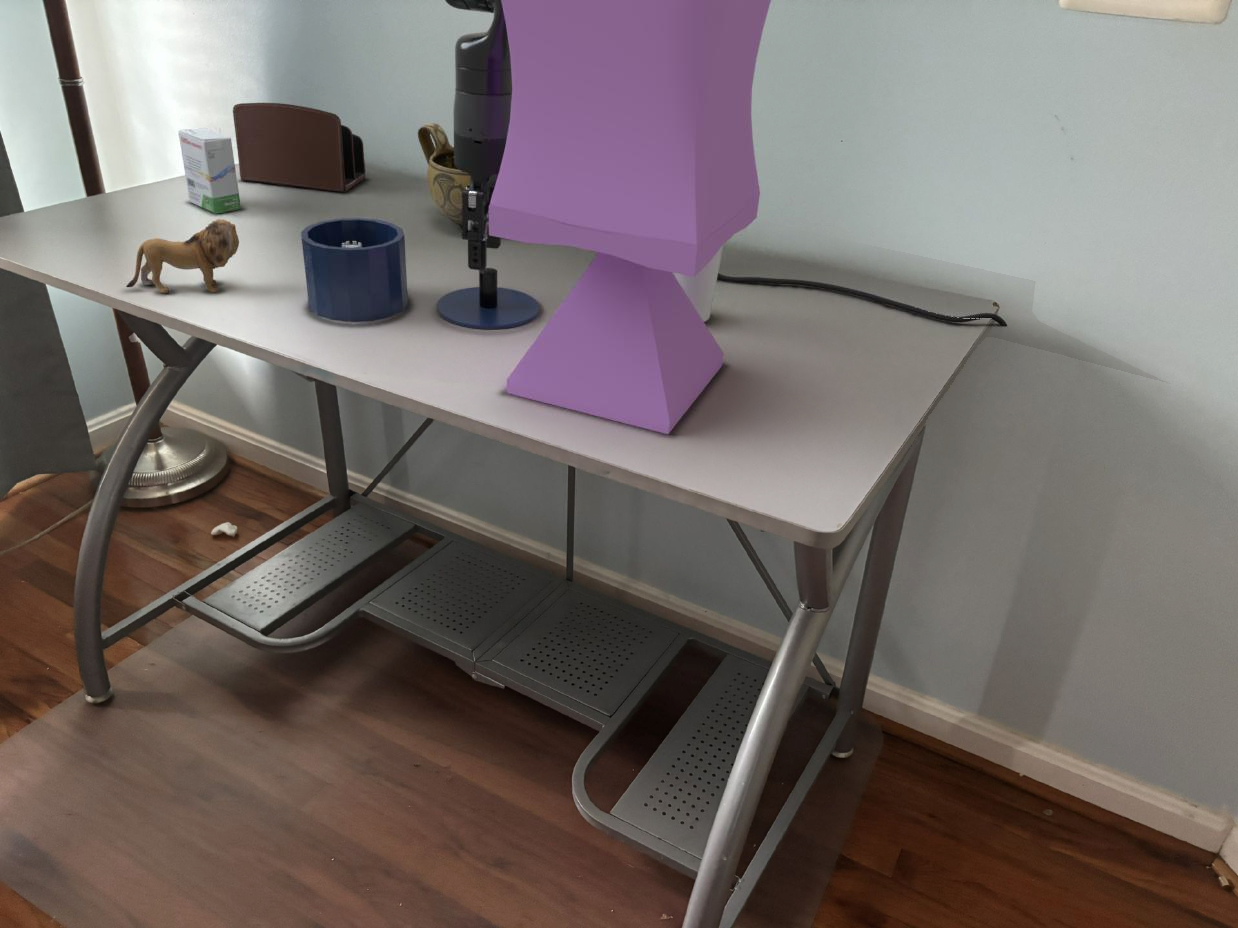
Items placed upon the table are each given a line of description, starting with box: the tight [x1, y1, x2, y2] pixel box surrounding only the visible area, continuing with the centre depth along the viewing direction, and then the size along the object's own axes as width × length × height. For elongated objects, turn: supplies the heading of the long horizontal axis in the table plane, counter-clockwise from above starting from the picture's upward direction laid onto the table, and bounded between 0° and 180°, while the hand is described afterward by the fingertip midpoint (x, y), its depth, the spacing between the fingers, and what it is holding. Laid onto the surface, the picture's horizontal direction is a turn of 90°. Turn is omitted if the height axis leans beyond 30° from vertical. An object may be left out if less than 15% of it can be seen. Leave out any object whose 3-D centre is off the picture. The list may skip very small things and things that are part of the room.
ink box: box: [177, 127, 242, 215], centre depth 157 cm, size 8×5×12 cm, turn 48°
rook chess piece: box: [342, 241, 362, 248], centre depth 125 cm, size 4×4×8 cm
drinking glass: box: [673, 244, 725, 323], centre depth 128 cm, size 7×7×15 cm
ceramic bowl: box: [417, 122, 478, 230], centre depth 157 cm, size 22×17×15 cm
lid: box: [436, 267, 540, 330], centre depth 127 cm, size 14×14×6 cm
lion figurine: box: [125, 218, 240, 294], centre depth 127 cm, size 15×5×9 cm, turn 110°
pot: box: [300, 217, 409, 323], centre depth 125 cm, size 13×13×10 cm
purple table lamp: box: [489, 0, 772, 435], centre depth 102 cm, size 22×22×45 cm
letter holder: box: [232, 102, 367, 194], centre depth 172 cm, size 10×20×14 cm, turn 80°
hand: (484, 258), depth 125 cm, fingers open, 8 cm apart
